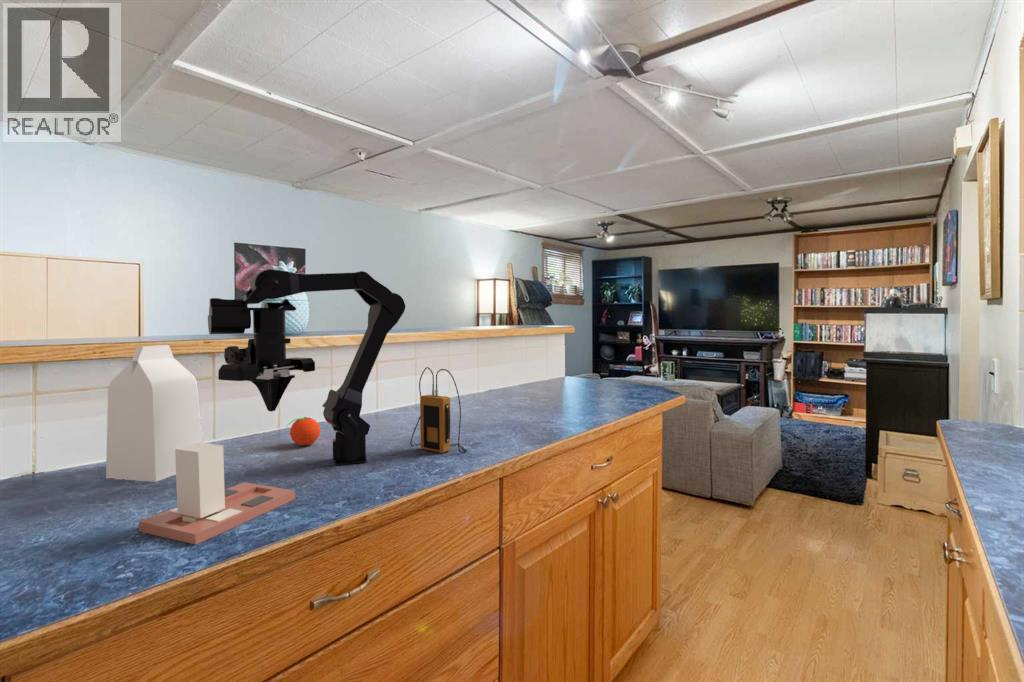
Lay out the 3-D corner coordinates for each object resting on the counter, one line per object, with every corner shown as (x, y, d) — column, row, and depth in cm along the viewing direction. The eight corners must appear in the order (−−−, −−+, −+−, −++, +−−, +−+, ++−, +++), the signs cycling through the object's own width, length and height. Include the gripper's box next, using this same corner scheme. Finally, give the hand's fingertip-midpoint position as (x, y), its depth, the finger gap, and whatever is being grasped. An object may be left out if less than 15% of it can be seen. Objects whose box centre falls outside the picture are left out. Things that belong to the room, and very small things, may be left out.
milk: (155, 481, 93) (150, 348, 91) (106, 478, 95) (100, 347, 93) (205, 463, 105) (201, 344, 103) (160, 460, 107) (156, 343, 105)
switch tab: (202, 510, 77) (200, 442, 76) (225, 514, 75) (223, 445, 75) (177, 519, 73) (175, 448, 73) (200, 524, 71) (198, 452, 71)
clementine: (286, 451, 114) (286, 421, 114) (284, 444, 120) (283, 416, 120) (322, 446, 118) (321, 418, 118) (318, 440, 124) (318, 413, 124)
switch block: (244, 490, 88) (244, 481, 88) (295, 499, 84) (295, 489, 84) (139, 531, 71) (138, 520, 71) (195, 544, 67) (195, 533, 67)
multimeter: (481, 446, 118) (480, 366, 117) (455, 456, 110) (454, 369, 108) (436, 438, 126) (435, 362, 125) (408, 447, 117) (407, 366, 116)
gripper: (276, 331, 107) (278, 401, 108) (195, 334, 90) (198, 417, 90) (316, 332, 103) (317, 404, 104) (239, 335, 86) (242, 421, 86)
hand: (271, 411), depth 96 cm, fingers closed
